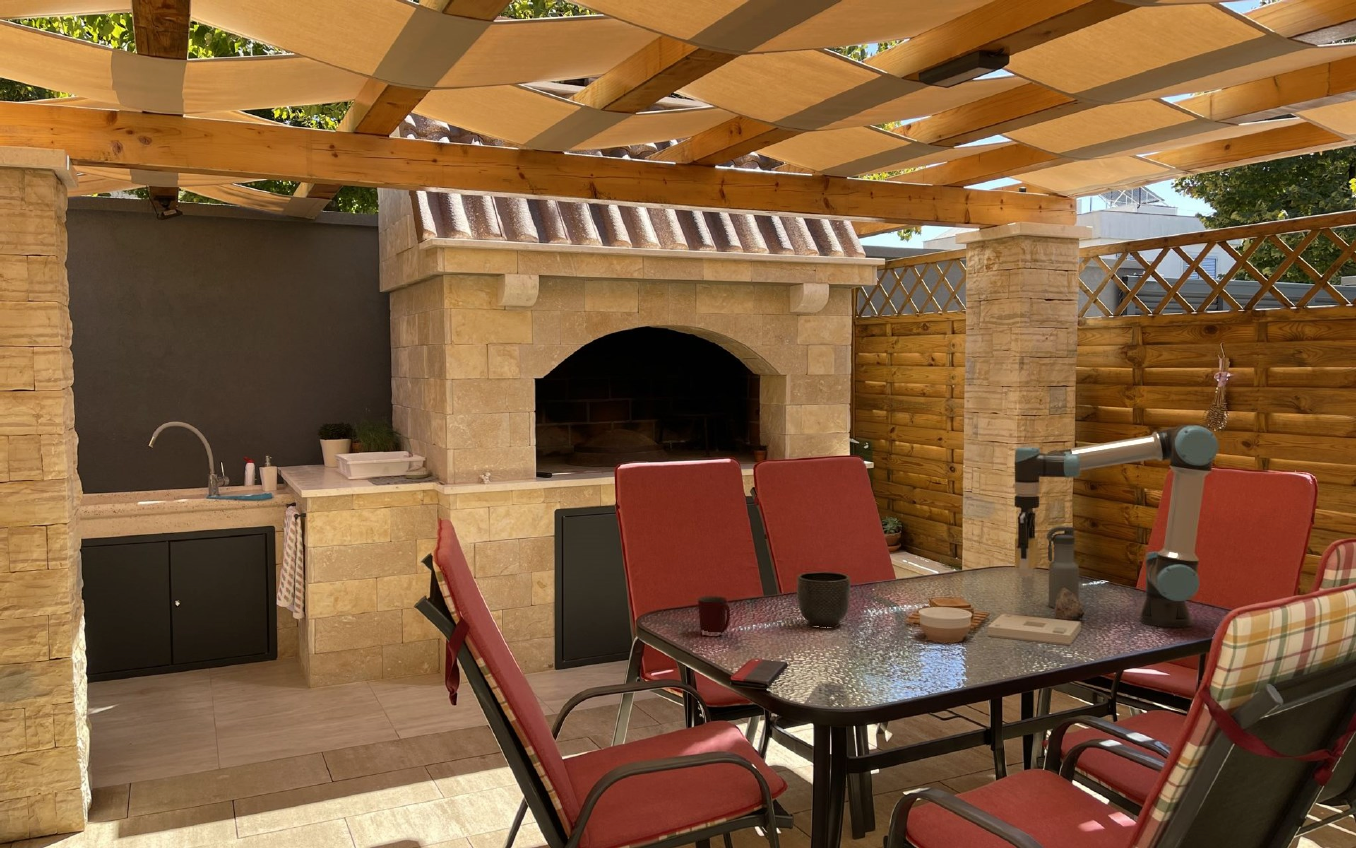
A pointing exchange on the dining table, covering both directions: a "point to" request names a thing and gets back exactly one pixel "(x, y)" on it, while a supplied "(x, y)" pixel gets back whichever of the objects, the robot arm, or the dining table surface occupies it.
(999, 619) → the socket plate
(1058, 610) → the rock
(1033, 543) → the plug
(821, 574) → the planter
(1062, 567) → the water bottle
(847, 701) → the dining table surface
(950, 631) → the bowl
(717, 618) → the mug
